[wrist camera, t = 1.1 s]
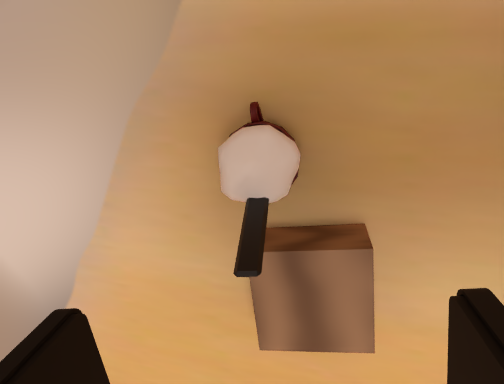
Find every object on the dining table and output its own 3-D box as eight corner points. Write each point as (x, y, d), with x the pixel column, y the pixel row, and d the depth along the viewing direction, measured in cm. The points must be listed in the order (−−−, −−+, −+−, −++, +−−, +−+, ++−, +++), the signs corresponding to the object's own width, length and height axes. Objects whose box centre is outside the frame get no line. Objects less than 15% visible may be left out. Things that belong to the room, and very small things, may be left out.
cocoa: (246, 96, 30) (199, 98, 18) (316, 117, 29) (313, 134, 18) (218, 196, 33) (164, 252, 21) (282, 218, 32) (261, 287, 21)
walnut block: (364, 222, 31) (373, 248, 27) (366, 315, 35) (374, 353, 30) (255, 227, 33) (246, 252, 29) (266, 314, 36) (259, 350, 32)
